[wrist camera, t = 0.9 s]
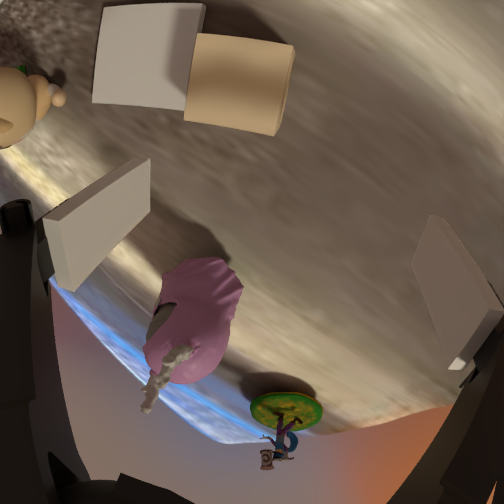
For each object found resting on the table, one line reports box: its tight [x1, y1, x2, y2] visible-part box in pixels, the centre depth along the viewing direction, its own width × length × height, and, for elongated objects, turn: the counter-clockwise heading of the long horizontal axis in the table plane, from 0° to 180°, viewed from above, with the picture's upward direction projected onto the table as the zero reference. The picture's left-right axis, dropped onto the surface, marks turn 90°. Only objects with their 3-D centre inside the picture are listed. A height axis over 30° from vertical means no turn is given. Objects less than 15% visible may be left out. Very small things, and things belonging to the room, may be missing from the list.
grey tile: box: [92, 3, 207, 111], centre depth 28 cm, size 12×12×2 cm
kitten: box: [0, 66, 66, 149], centre depth 26 cm, size 15×10×15 cm
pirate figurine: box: [250, 392, 323, 470], centre depth 48 cm, size 14×13×15 cm
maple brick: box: [184, 33, 296, 136], centre depth 27 cm, size 8×8×7 cm
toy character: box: [141, 257, 244, 413], centre depth 34 cm, size 12×10×20 cm
